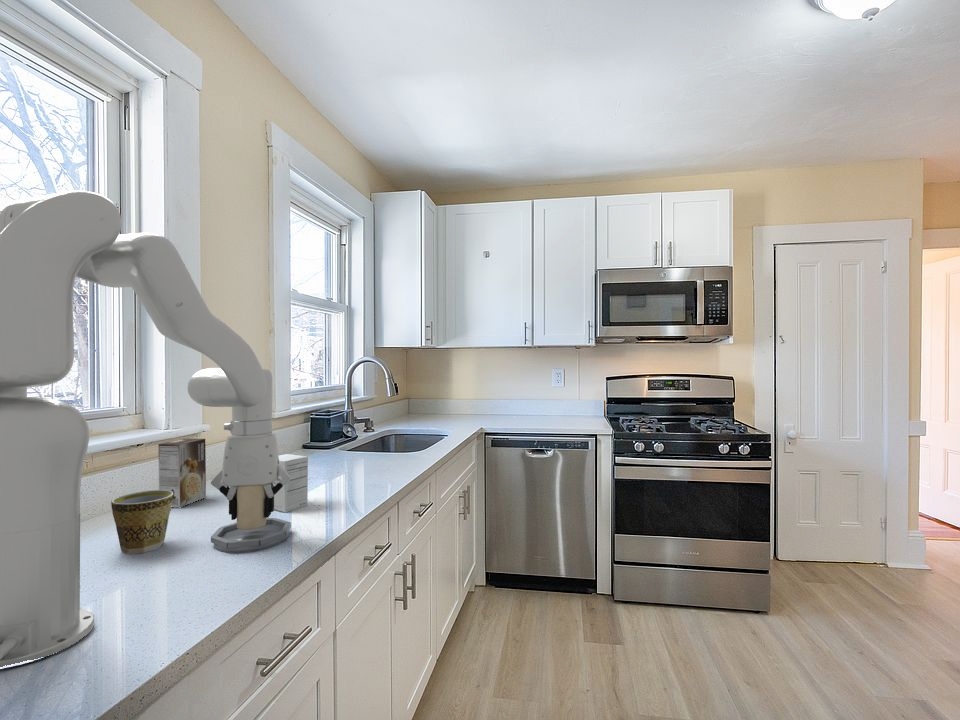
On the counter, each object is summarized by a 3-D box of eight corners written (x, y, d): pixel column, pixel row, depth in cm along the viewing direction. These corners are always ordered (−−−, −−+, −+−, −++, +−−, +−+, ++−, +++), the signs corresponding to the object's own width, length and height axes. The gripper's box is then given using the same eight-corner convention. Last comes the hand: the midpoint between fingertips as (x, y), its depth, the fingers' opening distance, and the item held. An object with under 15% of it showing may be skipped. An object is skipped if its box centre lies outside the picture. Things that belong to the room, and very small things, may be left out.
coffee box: (185, 497, 130) (185, 437, 130) (206, 498, 129) (206, 438, 129) (157, 507, 120) (157, 443, 121) (180, 508, 119) (180, 444, 120)
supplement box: (264, 509, 119) (264, 458, 119) (288, 501, 126) (288, 453, 126) (284, 513, 116) (284, 460, 116) (308, 505, 122) (308, 455, 122)
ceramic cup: (183, 544, 96) (183, 494, 96) (126, 562, 87) (126, 507, 87) (150, 532, 102) (150, 485, 103) (94, 548, 94) (94, 497, 94)
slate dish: (282, 549, 93) (282, 538, 93) (203, 555, 90) (203, 544, 90) (294, 525, 107) (294, 516, 107) (225, 530, 104) (225, 521, 104)
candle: (254, 531, 95) (255, 480, 95) (230, 529, 96) (230, 479, 96) (272, 522, 100) (272, 474, 101) (248, 520, 102) (249, 473, 102)
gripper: (199, 432, 93) (199, 525, 93) (293, 429, 97) (293, 519, 97) (212, 427, 100) (211, 514, 100) (299, 425, 104) (298, 508, 104)
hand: (251, 515), depth 98 cm, fingers closed on candle, 5 cm apart
